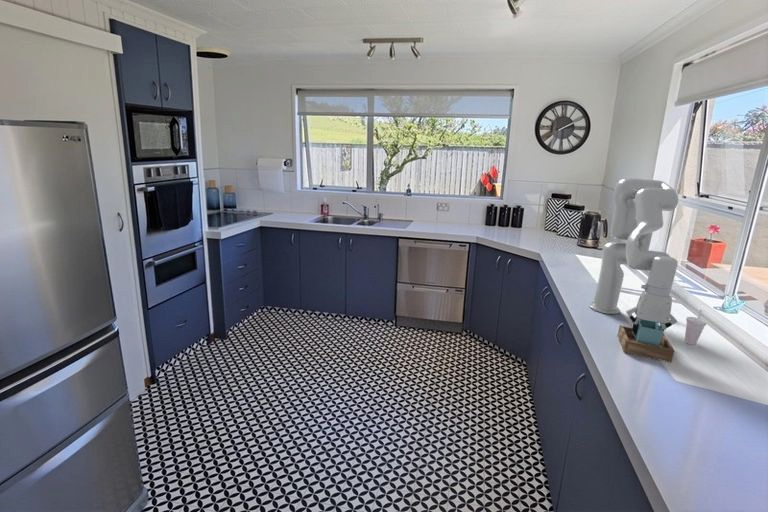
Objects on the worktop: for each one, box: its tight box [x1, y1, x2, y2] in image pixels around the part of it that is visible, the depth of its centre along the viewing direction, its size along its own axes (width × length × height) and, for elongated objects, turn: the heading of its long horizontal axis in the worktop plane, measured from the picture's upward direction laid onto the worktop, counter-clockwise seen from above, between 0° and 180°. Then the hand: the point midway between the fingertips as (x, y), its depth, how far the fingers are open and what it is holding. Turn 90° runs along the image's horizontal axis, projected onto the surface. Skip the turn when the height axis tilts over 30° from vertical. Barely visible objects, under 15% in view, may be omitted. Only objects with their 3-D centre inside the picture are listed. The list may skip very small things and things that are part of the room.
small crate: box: [632, 320, 665, 347], centre depth 153 cm, size 10×7×6 cm
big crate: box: [616, 325, 675, 363], centre depth 155 cm, size 15×15×4 cm
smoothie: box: [684, 309, 708, 346], centre depth 161 cm, size 6×6×14 cm
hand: (646, 335), depth 154 cm, fingers closed on small crate, 7 cm apart
